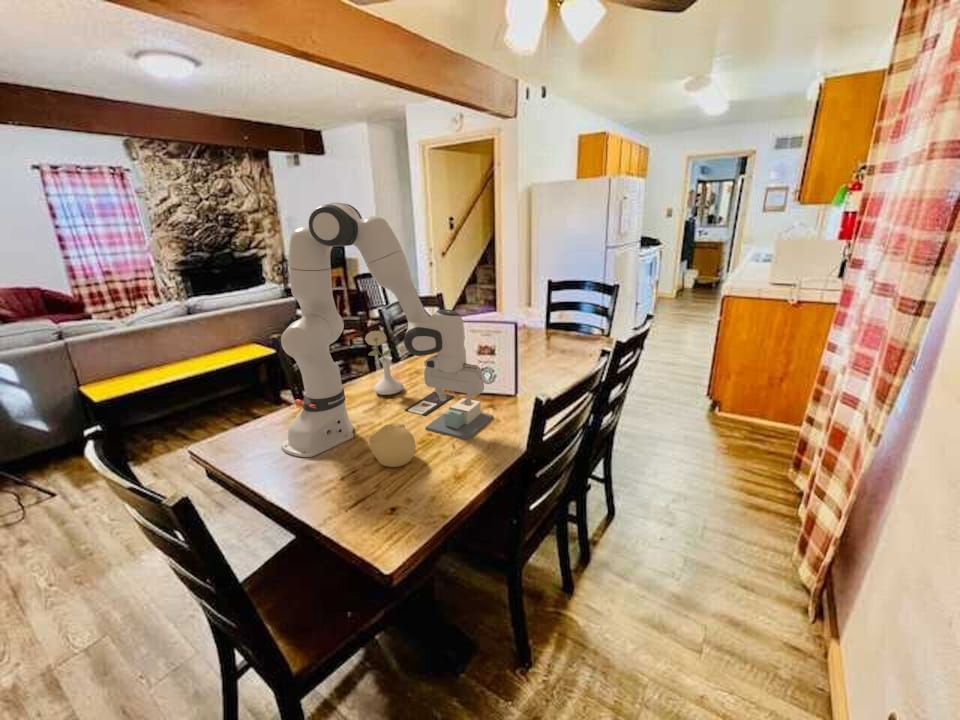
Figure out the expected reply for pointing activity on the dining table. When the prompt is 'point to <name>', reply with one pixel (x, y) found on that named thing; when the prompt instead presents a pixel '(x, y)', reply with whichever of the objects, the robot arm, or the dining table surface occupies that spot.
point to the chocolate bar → (428, 404)
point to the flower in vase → (388, 382)
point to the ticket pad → (462, 429)
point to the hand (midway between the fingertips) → (455, 402)
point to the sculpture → (393, 445)
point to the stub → (454, 418)
